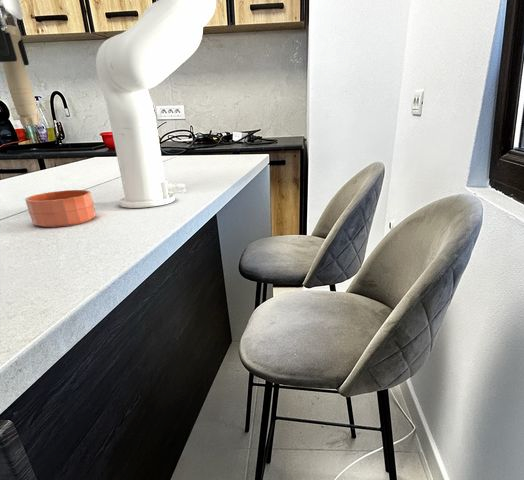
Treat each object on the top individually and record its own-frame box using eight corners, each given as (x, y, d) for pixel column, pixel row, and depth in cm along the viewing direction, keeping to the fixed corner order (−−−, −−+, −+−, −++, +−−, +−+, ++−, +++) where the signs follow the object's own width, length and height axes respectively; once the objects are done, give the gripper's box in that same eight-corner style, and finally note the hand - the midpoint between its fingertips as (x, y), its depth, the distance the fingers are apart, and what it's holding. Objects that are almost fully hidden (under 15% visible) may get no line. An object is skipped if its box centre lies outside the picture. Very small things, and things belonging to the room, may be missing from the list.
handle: (46, 124, 85) (20, 31, 78) (43, 124, 80) (15, 24, 72) (19, 126, 84) (-9, 31, 76) (14, 126, 78) (-17, 25, 71)
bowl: (100, 212, 93) (95, 188, 91) (90, 225, 82) (83, 198, 80) (43, 217, 92) (35, 192, 89) (24, 230, 81) (16, 203, 79)
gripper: (-21, -95, 61) (21, 57, 70) (16, -55, 76) (47, 66, 85) (-78, -95, 60) (-28, 59, 69) (-29, -54, 75) (7, 68, 84)
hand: (13, 62), depth 77 cm, fingers closed on handle, 6 cm apart
